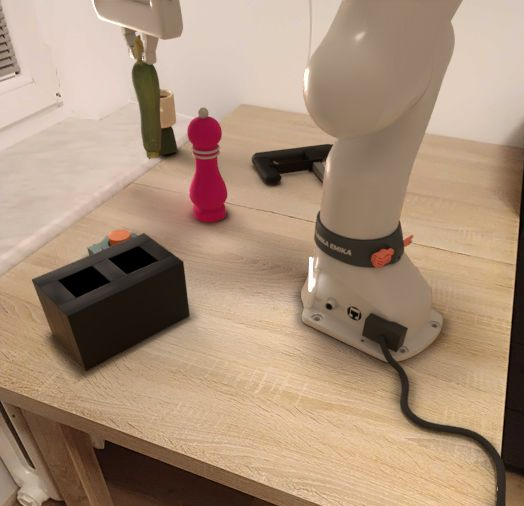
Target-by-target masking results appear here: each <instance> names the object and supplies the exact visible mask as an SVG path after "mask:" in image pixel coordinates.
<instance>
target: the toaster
mask: <svg viewBox="0 0 524 506" xmlns="http://www.w3.org/2000/svg"><path fill="white" fill-rule="evenodd" d="M137 235H138V236H135V237H133V238H130V239H128V240H126V241H123V242H121V243H118V244H116V245H114V246H111V247H109V248H106V249H104V250H101V251H99V252H97V253H94V254H92V255H89V254H88V255H86V256H85V257H82V258H80V259H78V260H75V261H73V262H70V263H68V264H65V265H63V266H61V267H58V268H55V269H53V270H51V271H48V272H46V273H44V274H41V275H38V276H36V277H33V278H31V282H32V284H33V288H34V290H35V292H36V295H37V297H38V300H39V303H40V306H41V308H42V311H43V314H44V316H45V319H46V322H47V324H48V326H49V329H50V332H51V334H52V336H53V337H54V338H55V339H56V340H57V341H58V343H59V344H60V345H61V346H62V347H63V348H64V349H65V350H66V351H67V352H68V354H69V355H70V356H71V357H72V358H73V359H74V360H75V362H76V363H77V364H79V366H80V367H81V368H82V369H83V370H84V371H85V372H88V371H90V370H92V369H93V368H96V367H98V366H99V365H101V364H103V363H105V362H106V361H109V360H110V359H112V358H114V357H116V356H117V355H120V354H121V353H123V352H125V351H128V350H129V349H131V348H133V347H135V346H137V345H139V344H140V343H142V342H144V341H145V340H147V339H149V338H151V337H153V336H155V335H157V334H159V333H161V332H163V331H164V330H166V329H168V328H170V327H172V326H174V325H175V324H177V323H180V322H181V321H183V320H185V319H186V318H189V317H190V307H189V297H188V290H187V289H188V288H187V280H186V271H185V264H184V260H182V259H180V257H178V256H176V255H175V254H174V253H173V252H171V251H170V250H168V249H167V248H165V247H164V246H163V245H161V244H160V243H158V242H157V241H155V239H153V238H151V237H150V236H149V235H148V234H146V233H145V232H143V233H140V234H137Z"/></svg>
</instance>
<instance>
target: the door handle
mask: <svg viewBox="0 0 524 506" xmlns="http://www.w3.org/2000/svg"><path fill="white" fill-rule="evenodd" d="M333 144H334V143H332V144H331V143H324V144H315V145H308V146H300V147H299V146H297V147H291V148H281V149H275V150H267V151H258V152H255V153H254V154H253V155H252V157H251V163H252V165H253V166H254V167H256V169H257V171H258V172H259V174H260V176H261V177H262V179H263V180H264V182H265V183H266V184H268V185H276V184H278V183H280V182H281V181H282V175H283V174H290V173H291V174H292V173H299V172H306V171H308V172H310V173H312V172H313V173H315V175H316V176H317V177H318V179H319V180H320V181H321V182H322V183H323V179H324V170H325V165H323V160H324V159H327V156H328V154H329V152H330V150H331V148H332V146H333Z"/></svg>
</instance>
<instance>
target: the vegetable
mask: <svg viewBox="0 0 524 506" xmlns="http://www.w3.org/2000/svg"><path fill="white" fill-rule="evenodd" d="M143 50H144V41H143V39H142V34H138V35H136V38H135V42H134V49H133V51H134V52H133V53H134V56H135V58H136V59H135V60H136V61H135V63H134V64H133V66H132V69H131V81H132V86H133V89H134V93H135V96H136V99H137V103H138V108H139V114H140V115H139V117H140V133H141V141H142V146H143V149H144V151H145V153H146V157H147V158H148V160H151V159H157V158H159V156H160V155H159V151H160V149H161V120H160V89H161V87H160V79H159V75H158V72H157V69H156V67H155V66H154V65H155V64H151V65H149V64H146V63H144V62H143V61H142V54H141V51H143Z"/></svg>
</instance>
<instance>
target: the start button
mask: <svg viewBox="0 0 524 506" xmlns="http://www.w3.org/2000/svg"><path fill="white" fill-rule="evenodd" d="M130 232H131V231H130V230H127V229H124V228H119V229H113V230H112V231H110V232H109V233H108V235H107V236H108V238H109V242H110V246H114V245H116V244H118V243H121V242H123V241H126V240H128V239H130V238H131V234H130Z"/></svg>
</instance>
